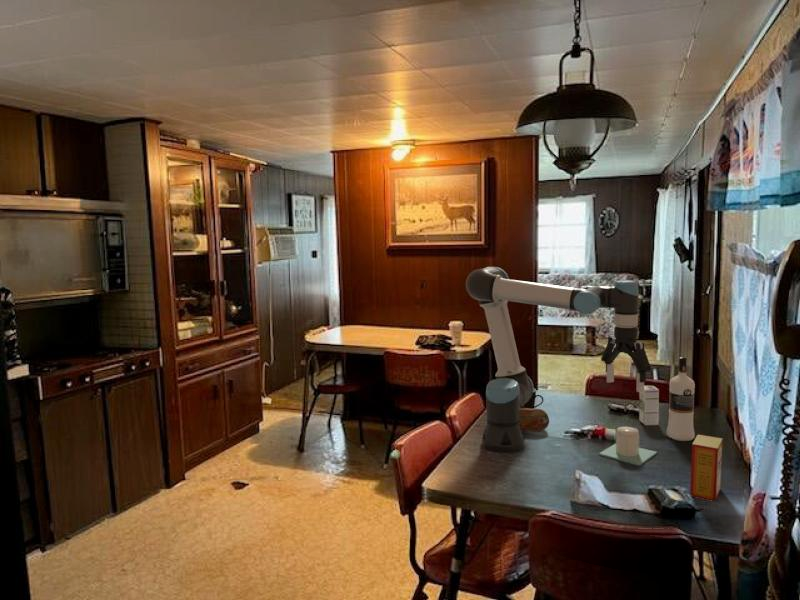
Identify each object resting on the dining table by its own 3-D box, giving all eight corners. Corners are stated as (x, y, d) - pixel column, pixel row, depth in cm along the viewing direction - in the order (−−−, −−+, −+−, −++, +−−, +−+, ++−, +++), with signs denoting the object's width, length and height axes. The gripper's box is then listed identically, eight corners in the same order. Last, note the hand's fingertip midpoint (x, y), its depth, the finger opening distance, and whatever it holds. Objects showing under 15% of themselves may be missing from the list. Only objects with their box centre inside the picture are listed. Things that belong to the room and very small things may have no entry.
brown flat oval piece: (509, 429, 227) (509, 409, 226) (509, 427, 230) (509, 406, 229) (549, 432, 223) (549, 410, 222) (548, 429, 226) (549, 408, 225)
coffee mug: (511, 411, 249) (511, 388, 248) (527, 408, 253) (527, 386, 251) (528, 419, 239) (528, 395, 237) (545, 415, 242) (545, 392, 241)
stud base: (639, 466, 190) (640, 448, 189) (599, 454, 200) (599, 437, 199) (657, 453, 200) (657, 436, 199) (617, 443, 210) (617, 427, 209)
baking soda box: (696, 484, 176) (697, 433, 174) (720, 489, 172) (722, 437, 170) (690, 496, 168) (692, 442, 166) (715, 501, 164) (717, 447, 162)
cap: (632, 457, 195) (633, 434, 194) (613, 452, 200) (613, 430, 199) (641, 452, 200) (641, 429, 199) (622, 447, 205) (622, 425, 204)
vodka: (688, 432, 218) (691, 354, 215) (698, 442, 209) (701, 360, 205) (662, 432, 219) (665, 354, 216) (671, 441, 210) (674, 360, 206)
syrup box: (659, 425, 227) (660, 389, 226) (643, 425, 228) (644, 389, 226) (653, 420, 233) (653, 385, 231) (638, 420, 233) (638, 385, 231)
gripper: (664, 330, 189) (662, 393, 191) (607, 320, 211) (606, 377, 214) (647, 332, 186) (645, 397, 188) (591, 322, 208) (590, 379, 211)
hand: (624, 386), depth 201 cm, fingers open, 13 cm apart
